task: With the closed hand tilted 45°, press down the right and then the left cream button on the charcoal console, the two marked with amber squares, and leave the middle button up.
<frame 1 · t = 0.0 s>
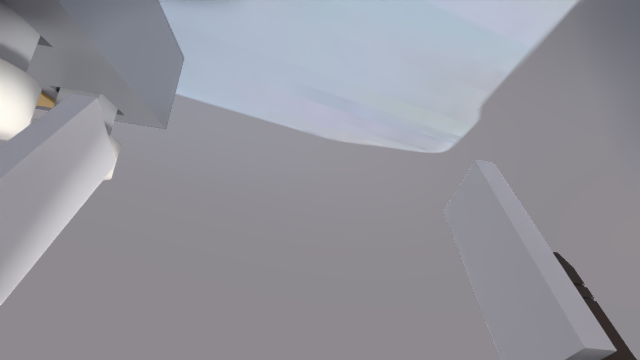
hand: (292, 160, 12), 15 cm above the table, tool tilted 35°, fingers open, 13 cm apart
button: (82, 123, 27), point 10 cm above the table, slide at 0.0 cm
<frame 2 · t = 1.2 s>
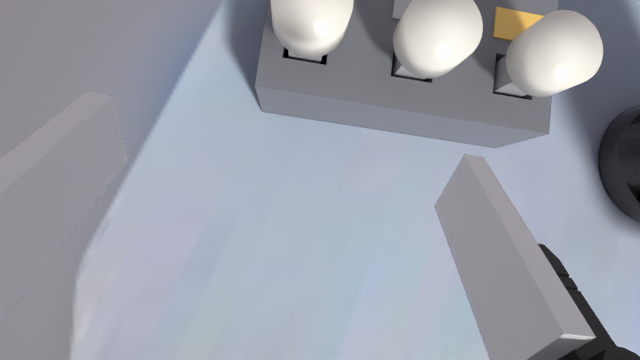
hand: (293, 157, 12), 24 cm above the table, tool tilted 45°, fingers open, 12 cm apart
console: (389, 72, 38), on the table
button middle: (422, 48, 28), point 10 cm above the table, slide at 0.0 cm
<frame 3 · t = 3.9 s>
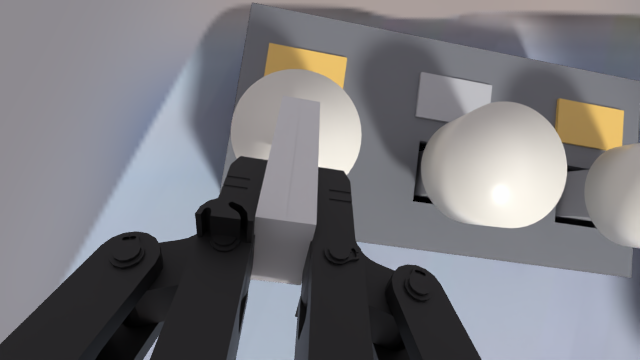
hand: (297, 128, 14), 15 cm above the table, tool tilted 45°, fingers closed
console: (403, 161, 29), on the table
button middle: (462, 172, 19), point 10 cm above the table, slide at 0.0 cm
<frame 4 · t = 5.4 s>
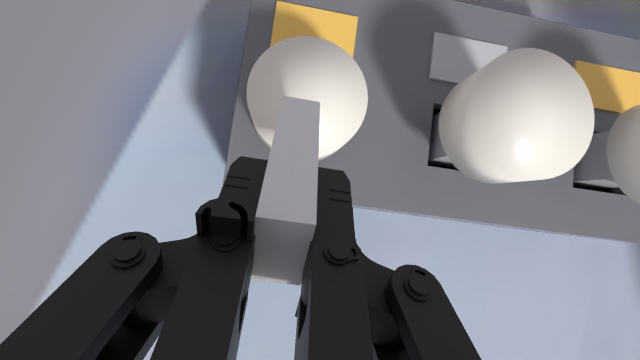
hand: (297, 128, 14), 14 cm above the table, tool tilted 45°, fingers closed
console: (412, 134, 29), on the table
button middle: (480, 132, 18), point 10 cm above the table, slide at 0.0 cm
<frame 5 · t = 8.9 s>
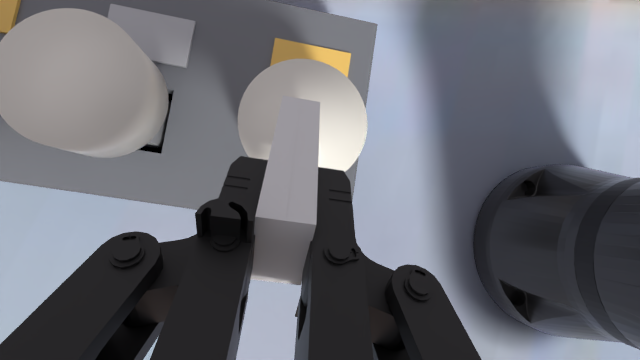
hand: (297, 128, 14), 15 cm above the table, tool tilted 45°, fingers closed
console: (180, 118, 28), on the table
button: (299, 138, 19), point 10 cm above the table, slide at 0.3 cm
button middle: (116, 105, 18), point 10 cm above the table, slide at 0.0 cm
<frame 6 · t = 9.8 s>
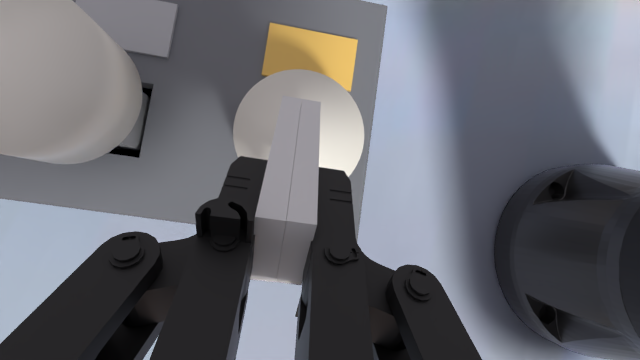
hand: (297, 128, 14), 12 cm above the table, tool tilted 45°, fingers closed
console: (168, 117, 25), on the table
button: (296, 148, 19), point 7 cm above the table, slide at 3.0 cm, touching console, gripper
button middle: (82, 102, 15), point 10 cm above the table, slide at 0.0 cm
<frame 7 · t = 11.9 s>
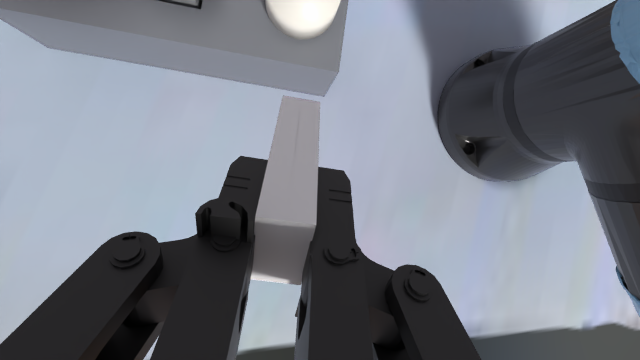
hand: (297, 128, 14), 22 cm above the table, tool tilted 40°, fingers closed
console: (203, 8, 34), on the table
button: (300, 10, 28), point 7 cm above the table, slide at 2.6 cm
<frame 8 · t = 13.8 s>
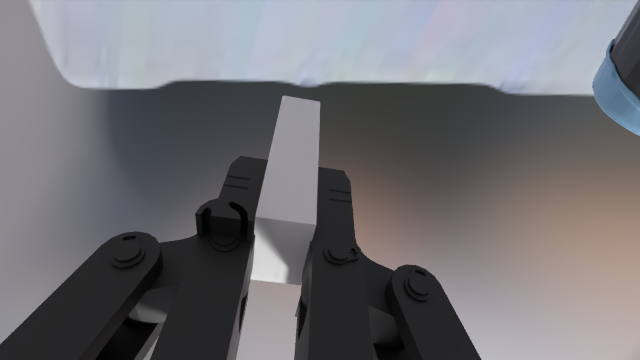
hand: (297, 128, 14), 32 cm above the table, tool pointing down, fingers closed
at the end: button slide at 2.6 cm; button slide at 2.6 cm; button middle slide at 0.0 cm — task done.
